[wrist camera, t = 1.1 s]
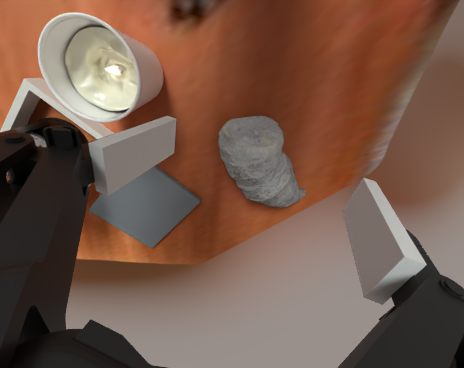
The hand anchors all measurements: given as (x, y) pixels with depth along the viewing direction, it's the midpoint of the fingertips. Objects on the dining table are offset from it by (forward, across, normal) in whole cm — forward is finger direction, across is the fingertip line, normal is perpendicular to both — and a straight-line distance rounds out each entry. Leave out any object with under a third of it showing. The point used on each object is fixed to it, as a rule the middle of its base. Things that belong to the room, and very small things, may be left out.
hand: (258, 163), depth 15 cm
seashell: (+23, -1, -9) cm, 25 cm away
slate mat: (+15, -20, -23) cm, 34 cm away
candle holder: (+17, -23, 0) cm, 28 cm away
